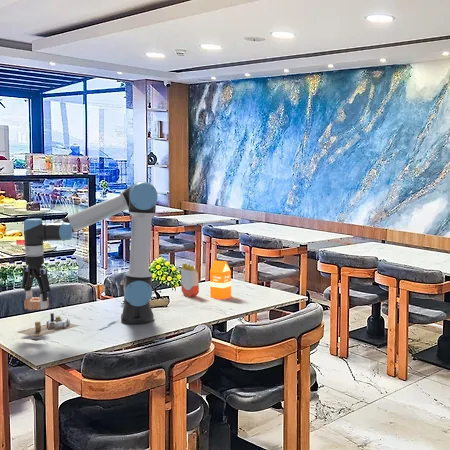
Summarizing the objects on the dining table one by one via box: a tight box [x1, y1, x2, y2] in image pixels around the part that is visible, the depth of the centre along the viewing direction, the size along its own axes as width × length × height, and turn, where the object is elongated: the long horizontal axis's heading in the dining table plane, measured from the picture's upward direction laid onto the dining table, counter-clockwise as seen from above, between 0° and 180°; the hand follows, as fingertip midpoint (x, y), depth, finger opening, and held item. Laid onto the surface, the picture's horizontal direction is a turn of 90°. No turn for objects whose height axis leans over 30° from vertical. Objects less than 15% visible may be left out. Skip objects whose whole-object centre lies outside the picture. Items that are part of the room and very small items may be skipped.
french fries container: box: [180, 263, 200, 298], centre depth 319 cm, size 5×11×18 cm, turn 39°
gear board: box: [17, 316, 79, 342], centre depth 251 cm, size 14×22×6 cm, turn 143°
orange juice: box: [209, 259, 232, 300], centre depth 315 cm, size 8×9×20 cm
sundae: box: [117, 277, 124, 302], centre depth 305 cm, size 7×7×15 cm
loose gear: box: [23, 296, 50, 311], centre depth 246 cm, size 10×10×4 cm
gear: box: [46, 312, 71, 329], centre depth 255 cm, size 10×10×6 cm
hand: (36, 307), depth 246 cm, fingers closed on loose gear, 10 cm apart
